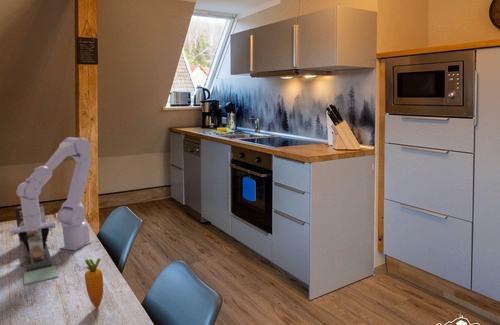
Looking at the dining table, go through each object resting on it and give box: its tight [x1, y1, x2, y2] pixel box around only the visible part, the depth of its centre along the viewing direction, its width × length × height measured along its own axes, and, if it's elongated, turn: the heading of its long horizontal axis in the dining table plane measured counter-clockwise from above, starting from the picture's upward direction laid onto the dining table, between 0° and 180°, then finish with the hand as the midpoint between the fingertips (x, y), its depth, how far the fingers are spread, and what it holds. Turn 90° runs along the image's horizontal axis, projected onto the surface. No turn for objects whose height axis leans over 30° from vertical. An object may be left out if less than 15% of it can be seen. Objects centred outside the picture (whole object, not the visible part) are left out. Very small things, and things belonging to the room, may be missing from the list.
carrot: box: [84, 257, 104, 309], centre depth 116 cm, size 5×5×15 cm
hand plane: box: [23, 242, 53, 272], centre depth 154 cm, size 20×8×6 cm, turn 30°
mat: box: [22, 265, 59, 286], centre depth 140 cm, size 10×10×1 cm
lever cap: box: [28, 236, 44, 257], centre depth 153 cm, size 6×4×6 cm
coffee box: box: [14, 203, 49, 246], centre depth 171 cm, size 9×6×16 cm
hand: (36, 249), depth 154 cm, fingers closed on lever cap, 4 cm apart
